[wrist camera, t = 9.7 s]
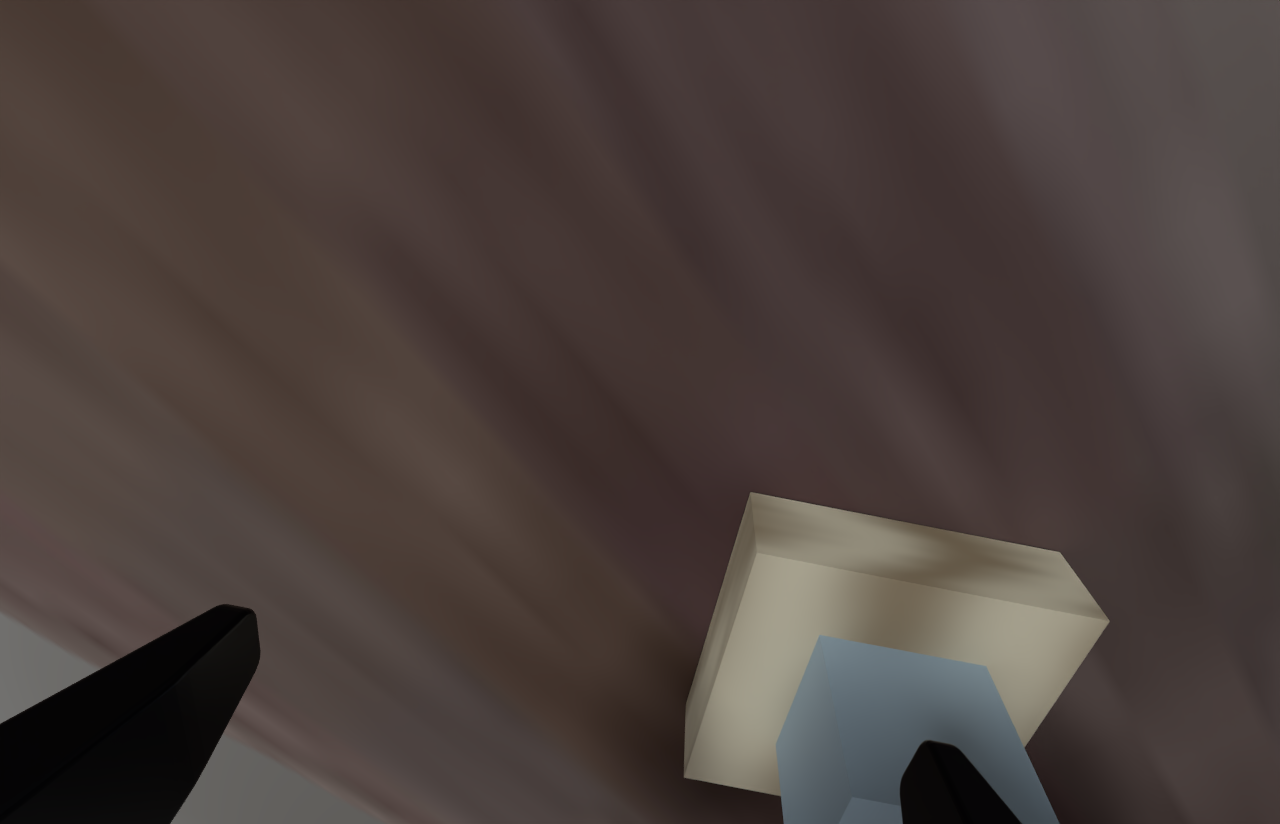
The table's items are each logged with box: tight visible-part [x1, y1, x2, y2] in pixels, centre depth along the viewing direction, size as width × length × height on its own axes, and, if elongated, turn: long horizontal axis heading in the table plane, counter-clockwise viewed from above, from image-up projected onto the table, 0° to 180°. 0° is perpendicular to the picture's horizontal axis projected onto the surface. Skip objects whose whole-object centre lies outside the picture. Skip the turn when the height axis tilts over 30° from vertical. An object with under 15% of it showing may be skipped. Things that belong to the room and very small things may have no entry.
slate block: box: [776, 635, 1059, 824], centre depth 19 cm, size 5×5×5 cm
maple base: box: [684, 492, 1109, 796], centre depth 23 cm, size 10×10×3 cm
